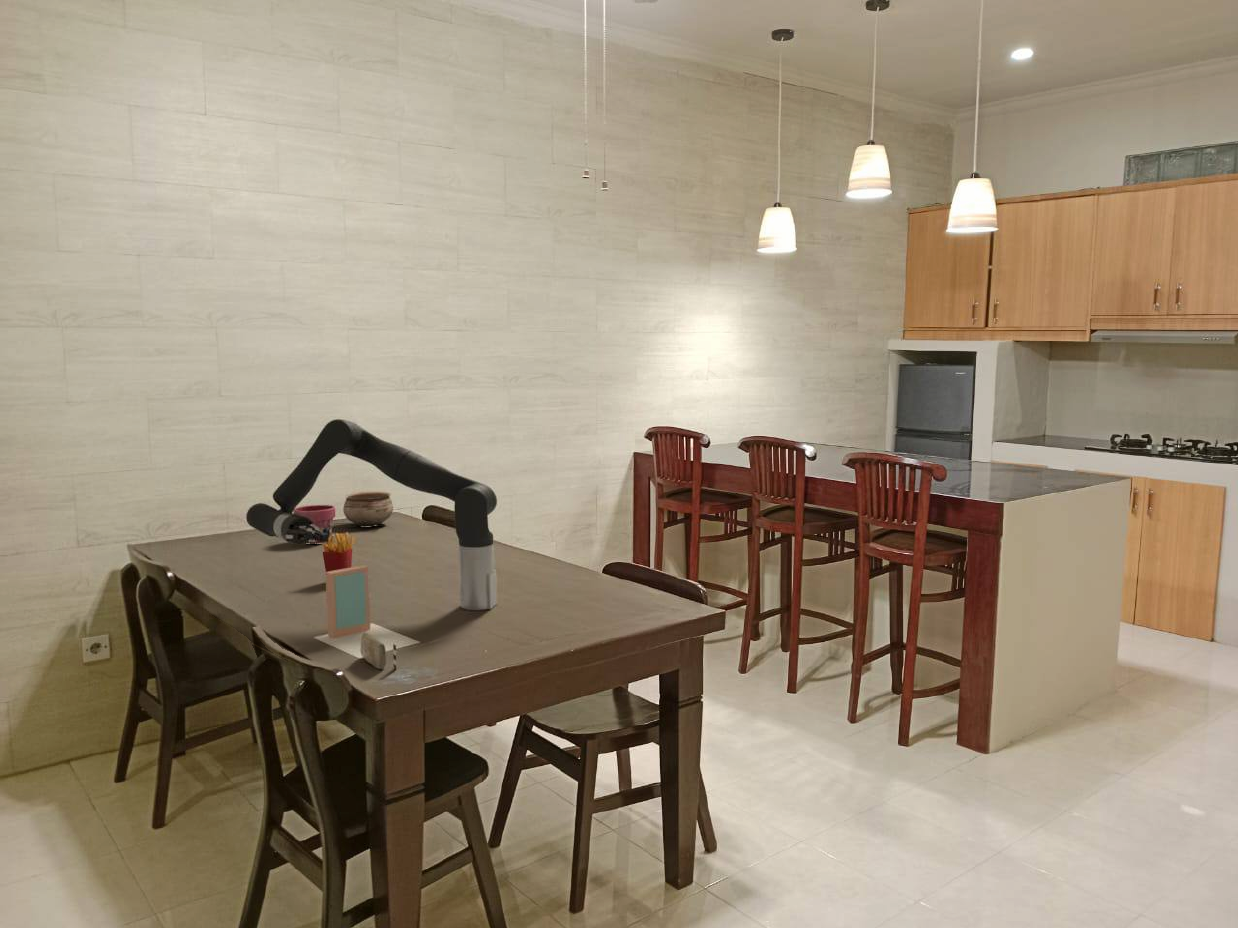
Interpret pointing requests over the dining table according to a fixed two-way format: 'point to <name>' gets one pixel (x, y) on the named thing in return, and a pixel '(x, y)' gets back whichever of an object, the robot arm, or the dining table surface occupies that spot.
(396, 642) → the mat
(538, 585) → the dining table surface
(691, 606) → the dining table surface
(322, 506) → the plant pot
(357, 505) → the cooking pot
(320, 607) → the dining table surface
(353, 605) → the tile
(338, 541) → the french fries
